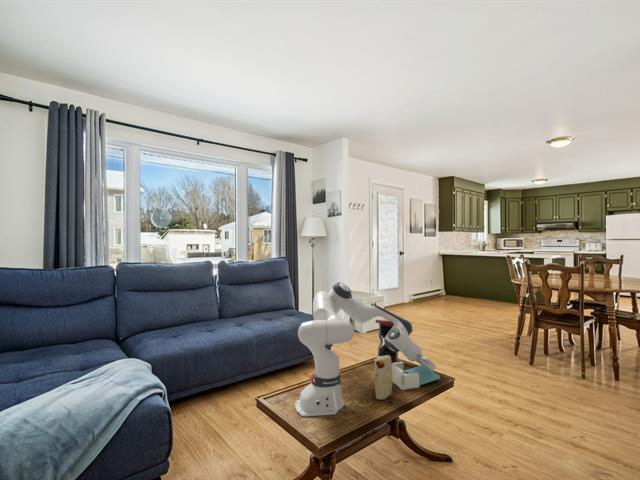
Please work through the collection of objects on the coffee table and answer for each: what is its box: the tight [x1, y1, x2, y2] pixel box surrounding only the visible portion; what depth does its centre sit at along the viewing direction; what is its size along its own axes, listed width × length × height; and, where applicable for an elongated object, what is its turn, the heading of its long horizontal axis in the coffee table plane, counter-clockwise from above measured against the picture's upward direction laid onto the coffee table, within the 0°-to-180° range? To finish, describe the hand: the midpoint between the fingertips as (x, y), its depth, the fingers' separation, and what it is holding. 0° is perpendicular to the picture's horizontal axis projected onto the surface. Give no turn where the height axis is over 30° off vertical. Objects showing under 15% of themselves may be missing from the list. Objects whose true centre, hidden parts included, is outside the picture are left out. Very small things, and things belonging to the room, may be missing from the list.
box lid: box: [404, 364, 441, 386], centre depth 177 cm, size 2×17×12 cm
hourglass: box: [373, 319, 399, 364], centre depth 196 cm, size 16×16×25 cm
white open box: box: [392, 361, 420, 391], centre depth 174 cm, size 10×17×9 cm, turn 15°
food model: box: [373, 355, 393, 400], centre depth 157 cm, size 10×7×20 cm
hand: (430, 368), depth 178 cm, fingers closed
